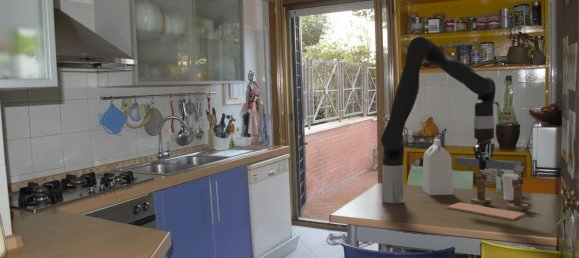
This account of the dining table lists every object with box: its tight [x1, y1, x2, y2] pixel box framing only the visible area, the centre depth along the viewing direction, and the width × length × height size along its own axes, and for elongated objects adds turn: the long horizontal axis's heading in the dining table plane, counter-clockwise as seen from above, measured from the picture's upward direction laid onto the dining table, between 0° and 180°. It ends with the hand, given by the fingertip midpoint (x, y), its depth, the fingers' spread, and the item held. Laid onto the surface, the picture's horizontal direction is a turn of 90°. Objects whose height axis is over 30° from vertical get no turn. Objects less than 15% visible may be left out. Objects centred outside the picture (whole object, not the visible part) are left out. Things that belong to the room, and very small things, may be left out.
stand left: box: [470, 173, 493, 205], centre depth 212 cm, size 7×6×12 cm
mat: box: [446, 202, 525, 222], centre depth 196 cm, size 10×28×1 cm, turn 41°
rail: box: [454, 156, 517, 171], centre depth 194 cm, size 3×24×3 cm, turn 41°
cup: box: [502, 173, 519, 201], centre depth 215 cm, size 7×7×11 cm
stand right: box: [506, 177, 530, 212], centre depth 200 cm, size 7×6×12 cm
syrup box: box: [495, 169, 514, 194], centre depth 229 cm, size 6×6×14 cm
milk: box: [422, 138, 454, 196], centre depth 233 cm, size 12×12×26 cm
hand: (484, 168), depth 194 cm, fingers closed on rail, 3 cm apart
